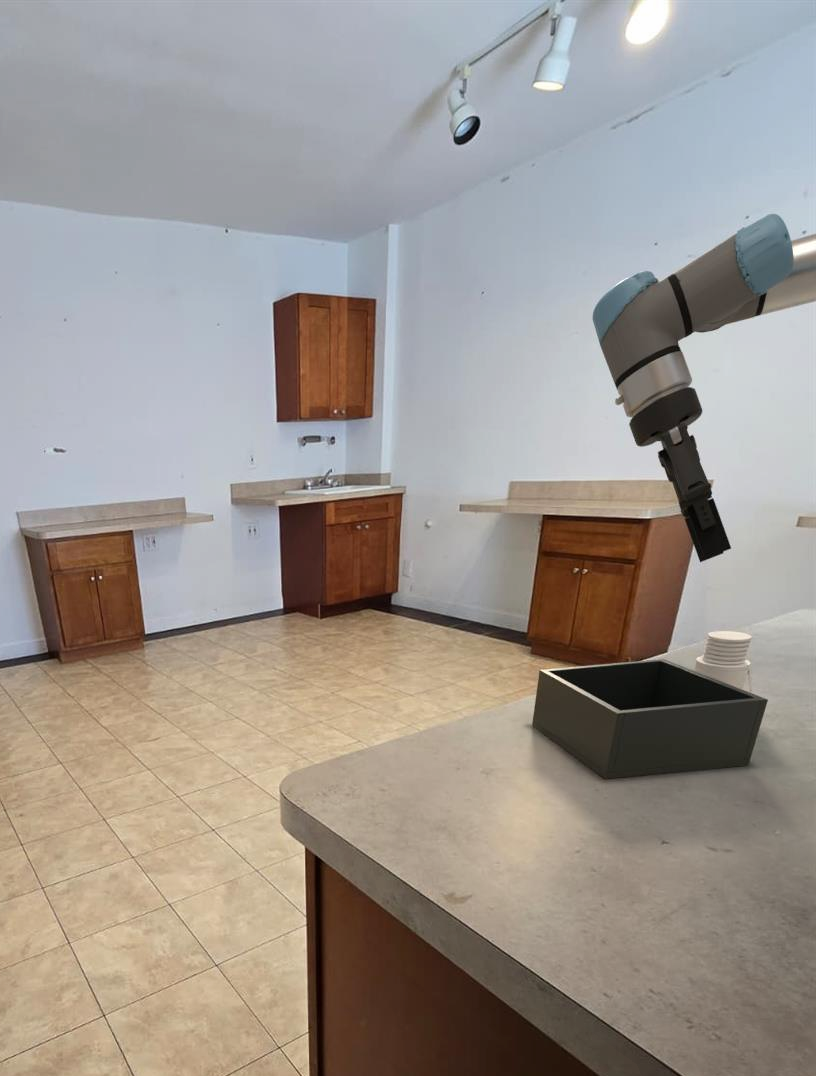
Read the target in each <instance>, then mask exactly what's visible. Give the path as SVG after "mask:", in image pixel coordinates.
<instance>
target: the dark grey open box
mask: <svg viewBox="0 0 816 1076" xmlns="http://www.w3.org/2000/svg"><path fill="white" fill-rule="evenodd" d="M768 703H769V699H768V698H765V697H762V696H760V695H757V694H755V693H753V692H752V693H750V691H747V690H744V689H743V690H742V689H739V688H737V687H734V686H732V685H729V684H726V683H724V682H721V681H719V680H716V679H714V678H711V677H708V676H706V675H703V674H701V673H698V672H696V671H694V669H693V670H692V669H691V668H689V667H688V668H687V667H685V666H682V665H681V664H677V663H675V662H672V661H671V660H668V659H665V658H659V659H648V660H647V659H645V660H638V661H637V660H636V661H626V662H625V661H624V662H614V663H604V664H603V663H601V664H590V665H581V666H570V667H558V668H549V669H547V668H546V669H539V672H538V679H537V685H536V694H535V701H534V709H533V716H532V722H531V726H532V727H533V728H534V729H536V730H537V731H538V732H540V733H541V734H542V735H544V736H545V737H547V738H548V739H549V740H551V741H552V742H553V743H555V744H556V745H557V746H559V747H560V748H561V749H563V750H564V751H566V752H567V753H569V754H570V755H571V756H573V757H574V758H575V759H577V760H578V761H579V762H581V763H582V764H584V765H585V766H586V767H587V768H589V769H590V770H592V771H593V772H594V773H596V774H597V775H599V776H600V777H601V778H603V779H604V780H610V779H611V780H612V779H622V778H632V777H641V776H651V775H652V776H653V775H661V774H662V775H663V774H671V773H672V774H673V773H682V772H683V773H684V772H694V771H704V770H712V769H714V770H715V769H724V768H725V769H726V768H734V767H743V766H749V765H750V762H751V758H752V756H753V751H754V749H755V745H756V741H757V739H758V735H759V731H760V728H761V725H762V722H763V718H764V715H765V712H766V709H767V705H768Z"/></svg>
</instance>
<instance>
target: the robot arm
mask: <svg viewBox="0 0 816 1076" xmlns="http://www.w3.org/2000/svg"><path fill="white" fill-rule="evenodd" d="M790 235H791V234H790V232H789V230H788V227H787V225H786V223H785V221H784V219H783V218H782V217H781V216H780V215H779V214H777V213H769V214H766V215H764V216H762V217H761V218H759V219H757V220H756V221H754V222H752V223H751V224H748V225H747V226H745V227H744V226H743V227H741V228H740V229H738V230H737V231H736V233H734V234H733V235H731V236H730V237H728V238H726V239H725V240H723V241H722V242H720V243H719V244H717V245H715V246H714V247H713V248H711V249H710V250H708V251H706V252H704V253H703V254H701V255H699V256H698V257H697V258H696V259H694V260H692V261H691V262H689V263H688V264H686V265H685V266H683V267H682V268H680V269H678V270H677V271H675V272H674V273H672V274H669V276H667V277H664V278H662V279H660V280H659V279H658V278H657V277H656V276H655V274H654V273H653V272H652V271H649V270H643V271H639V272H636V273H635V274H633V275H631V277H627V278H625V279H622V280H621V281H620V282H618V283H617V284H615V285H614V286H613V287H612V288H610V289H609V290H608V291H607V292H606V293H605V294H604V295H603V296H602V297H601V298H600V299H599V301H598V302H597V303H596V305H595V307H594V309H593V311H592V322H593V326H594V329H595V332H596V333H595V334H596V336H597V340H598V343H599V346H600V350H601V351H602V354H603V356H604V359H605V362H606V364H607V368H608V369H609V372H610V375H611V378H612V381H613V383H614V386H615V388H616V391H617V393H618V395H619V396H618V397H616V398H615V399H614V400H615V402H614V404H615V405H616V406H620V405H622V408H623V410H624V413H625V416H626V417H627V418H630V421H629V423H628V426H629V428H630V431H631V434H632V437H633V440H634V442H635V445H636V446H638V447H641V448H642V447H647V446H651V445H653V444H654V443H657V442H660V444H661V446H662V449H661V450H659V451H657V457H658V460H659V461H658V462H659V463H660V466H661V467H662V468H663V469H664V473H665V475H666V477H667V480H668V482H670V483H672V485H673V489H674V491H675V495H676V498H677V501H678V505H679V509H680V513H681V514H682V516H683V518H684V521H685V524H686V527H687V530H688V533H689V535H690V538H691V541H692V544H693V545H694V547H693V548H694V550H695V553H696V555H697V557H698V560H699V563H703V562H705V561H708V560H710V559H714V558H715V557H717V556H720V555H724V553H725V552H727V551H729V550H732V547H731V543H730V541H729V538H728V535H727V532H726V529H725V527H724V524H723V521H722V519H721V516H720V512H719V511H718V507H717V504H716V502H715V498H714V497H712V495H713V491H712V489H711V488H712V484H711V482H709V480H708V478H707V476H706V472H705V470H704V468H703V465H702V463H701V458H700V454H699V451H698V446H697V442H696V439H695V436H694V434H691V435H690V433H689V432H688V428H689V426H691V425H692V424H694V423H695V422H696V421H697V420H698V419H699V418H700V417H701V416H702V415H703V407H702V404H701V402H700V399H699V397H698V394H697V390H696V388H694V387H691V384H692V383H693V377H692V375H691V371H690V370H689V367H688V364H687V361H686V358H685V356H684V355H685V354H684V353H683V351H682V349H681V347H680V345H679V341H681V340H684V339H685V338H688V337H689V336H691V335H693V333H699V334H700V333H701V334H702V333H709V332H713V331H716V330H719V329H720V328H722V327H724V326H726V325H730V324H733V323H737V322H742V321H745V320H749V319H753V318H756V317H759V316H763V315H767V314H771V313H774V312H779V311H782V310H787V309H790V308H795V307H798V306H802V305H806V304H810V303H814V302H816V233H813V234H810V235H805V236H802V237H799V238H796V239H791V236H790Z"/></svg>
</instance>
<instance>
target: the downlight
mask: <svg viewBox="0 0 816 1076" xmlns="http://www.w3.org/2000/svg"><path fill="white" fill-rule="evenodd" d="M751 640H752V635H750V634H749V633H745V632H739V631H730V630H717V631H709V632H708V633H707V637H706V641H705V645H704V648H703V649H704V650H703V654H702V655H700V656H698V657H696V659H695V664H694V667H693V671H696V672H698V673H701V674H703V675H706V676H708V677H711V678H714V679H716V680H719V681H721V682H724V683H726V684H729V685H732V686H734V687H737V688H739V689H742V690H744V687H745V684H746V681H747V677H748V685H749V692H750V693H752V694H753V685H752V679H751V678H752V677H751V669H750V666H751V661H749V660H748V659H746V658H747V654H748V652H749V648H750V644H751Z"/></svg>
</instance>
